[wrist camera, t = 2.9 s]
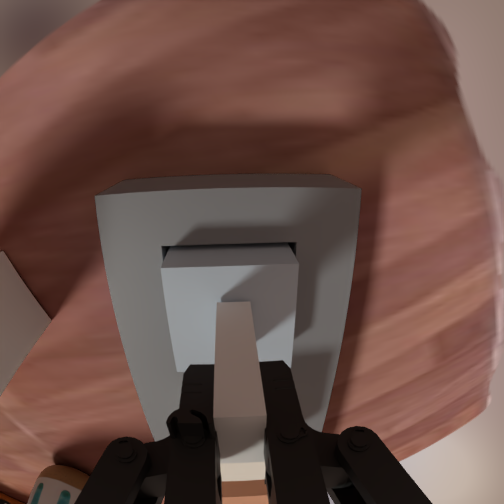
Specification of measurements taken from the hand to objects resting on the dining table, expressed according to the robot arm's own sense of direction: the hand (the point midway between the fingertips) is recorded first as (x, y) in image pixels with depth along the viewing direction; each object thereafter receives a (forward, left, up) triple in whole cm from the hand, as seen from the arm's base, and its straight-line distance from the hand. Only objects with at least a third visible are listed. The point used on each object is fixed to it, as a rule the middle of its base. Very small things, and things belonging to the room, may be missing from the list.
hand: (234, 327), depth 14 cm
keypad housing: (0, -9, -7) cm, 12 cm away
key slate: (0, 0, -6) cm, 6 cm away
